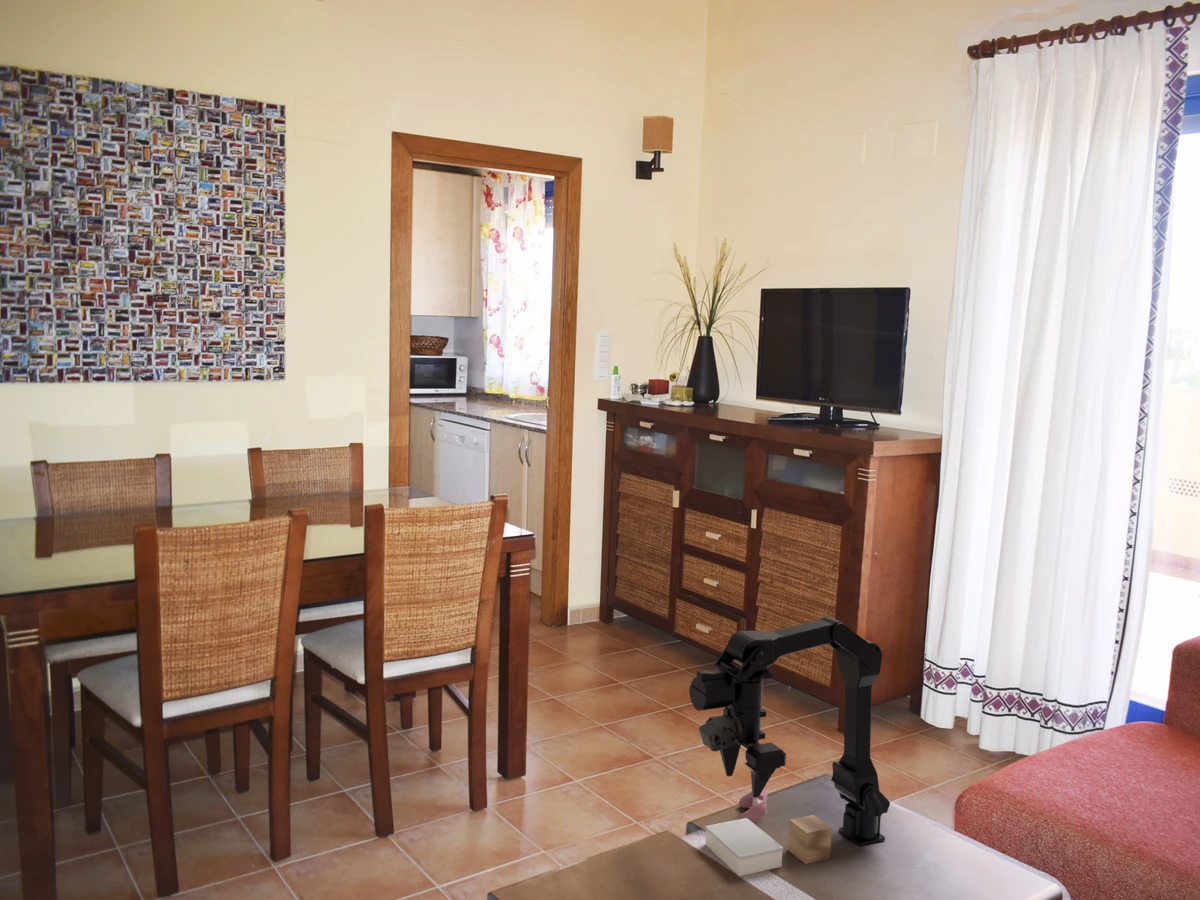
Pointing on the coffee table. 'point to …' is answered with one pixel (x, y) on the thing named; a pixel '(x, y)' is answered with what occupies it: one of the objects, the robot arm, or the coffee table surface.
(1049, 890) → the coffee table surface
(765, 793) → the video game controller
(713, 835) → the white rectangular box
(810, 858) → the walnut block
